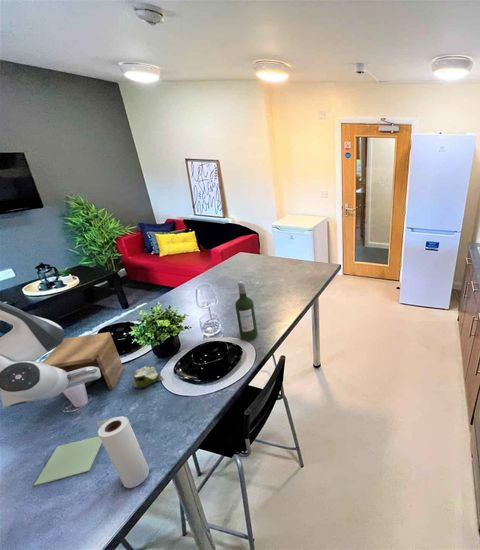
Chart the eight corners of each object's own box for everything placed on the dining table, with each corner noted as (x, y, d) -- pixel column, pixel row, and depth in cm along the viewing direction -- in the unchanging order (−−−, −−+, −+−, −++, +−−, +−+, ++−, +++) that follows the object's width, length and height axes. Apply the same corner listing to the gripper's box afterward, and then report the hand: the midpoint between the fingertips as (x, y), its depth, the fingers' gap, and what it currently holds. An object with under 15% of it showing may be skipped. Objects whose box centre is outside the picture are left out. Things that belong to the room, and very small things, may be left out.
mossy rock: (148, 395, 110) (137, 382, 106) (131, 390, 113) (120, 377, 109) (168, 375, 117) (159, 362, 113) (152, 371, 120) (142, 358, 116)
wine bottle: (254, 329, 149) (246, 277, 137) (259, 336, 144) (252, 283, 131) (238, 334, 144) (229, 281, 132) (243, 342, 139) (234, 287, 127)
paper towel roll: (151, 478, 82) (129, 426, 73) (124, 493, 78) (98, 441, 70) (146, 459, 87) (125, 408, 78) (121, 473, 83) (96, 421, 74)
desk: (60, 407, 102) (37, 367, 95) (81, 376, 116) (63, 338, 108) (108, 397, 107) (91, 358, 99) (124, 368, 120) (109, 331, 113)
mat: (33, 486, 79) (33, 485, 79) (57, 446, 89) (57, 446, 89) (88, 471, 83) (88, 470, 83) (105, 435, 93) (105, 434, 93)
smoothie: (93, 393, 108) (79, 364, 103) (93, 404, 104) (78, 374, 98) (70, 401, 104) (54, 371, 99) (68, 413, 100) (52, 383, 94)
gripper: (92, 358, 90) (104, 365, 101) (-9, 387, 78) (18, 391, 89) (96, 378, 88) (107, 382, 99) (-6, 410, 77) (20, 411, 88)
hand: (64, 387), depth 94 cm, fingers open, 8 cm apart
